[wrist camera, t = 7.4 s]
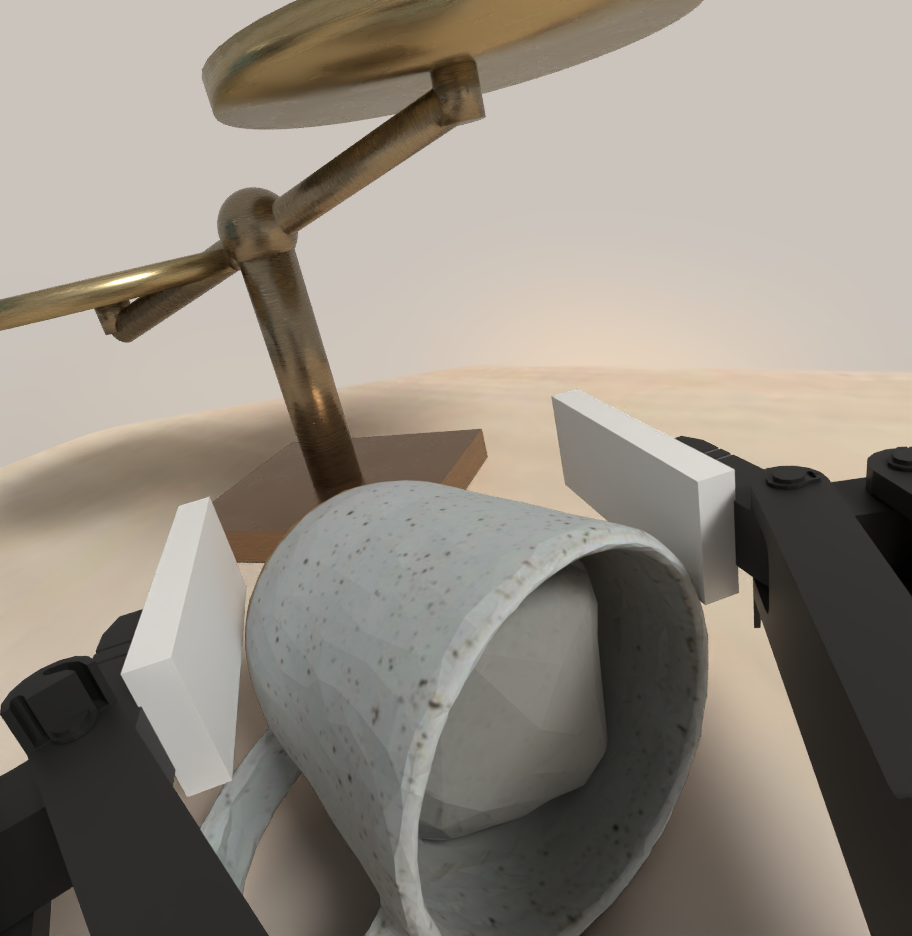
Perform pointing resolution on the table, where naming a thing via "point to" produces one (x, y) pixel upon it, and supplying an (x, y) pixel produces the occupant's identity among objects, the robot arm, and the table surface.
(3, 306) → the balance
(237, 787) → the ceramic mug
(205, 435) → the table surface
